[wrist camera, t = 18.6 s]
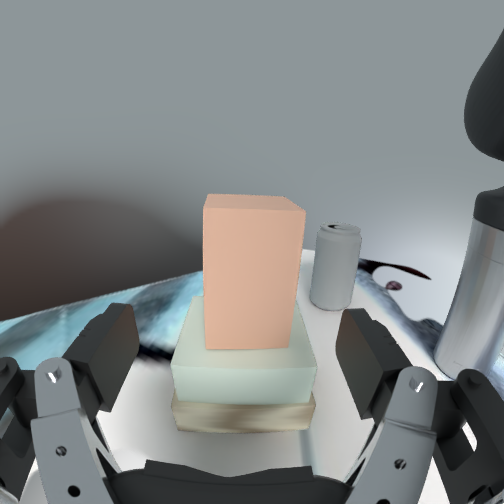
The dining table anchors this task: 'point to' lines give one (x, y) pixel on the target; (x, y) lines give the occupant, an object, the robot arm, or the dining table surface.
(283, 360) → the sage top block
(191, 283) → the dining table surface
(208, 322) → the terracotta pillar block
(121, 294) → the dining table surface
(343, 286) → the beverage can
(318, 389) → the dining table surface
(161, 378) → the dining table surface
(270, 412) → the birch base block
